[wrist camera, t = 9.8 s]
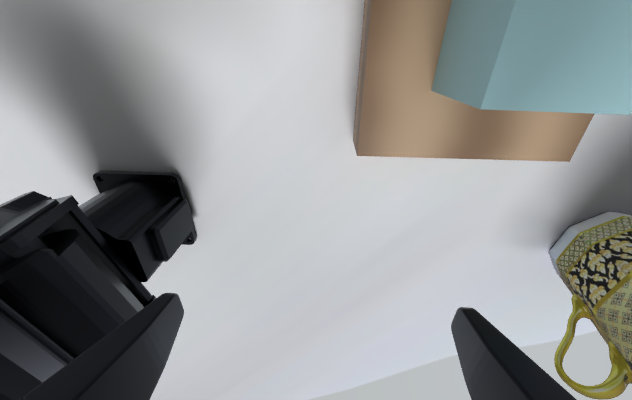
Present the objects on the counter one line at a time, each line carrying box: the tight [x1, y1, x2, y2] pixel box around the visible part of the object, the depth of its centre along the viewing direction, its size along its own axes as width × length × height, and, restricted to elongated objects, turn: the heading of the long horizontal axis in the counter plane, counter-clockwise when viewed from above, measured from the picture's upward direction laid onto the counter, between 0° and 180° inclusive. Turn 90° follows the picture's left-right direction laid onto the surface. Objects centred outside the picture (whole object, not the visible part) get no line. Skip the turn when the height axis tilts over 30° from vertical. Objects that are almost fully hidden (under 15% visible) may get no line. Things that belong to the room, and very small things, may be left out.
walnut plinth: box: [353, 0, 594, 162], centre depth 13 cm, size 12×12×3 cm
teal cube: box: [431, 0, 632, 115], centre depth 10 cm, size 5×5×5 cm
